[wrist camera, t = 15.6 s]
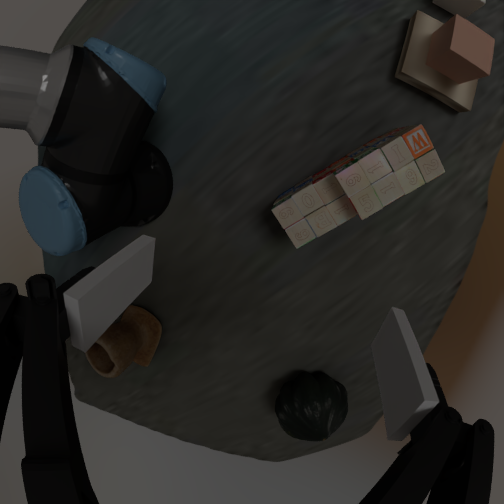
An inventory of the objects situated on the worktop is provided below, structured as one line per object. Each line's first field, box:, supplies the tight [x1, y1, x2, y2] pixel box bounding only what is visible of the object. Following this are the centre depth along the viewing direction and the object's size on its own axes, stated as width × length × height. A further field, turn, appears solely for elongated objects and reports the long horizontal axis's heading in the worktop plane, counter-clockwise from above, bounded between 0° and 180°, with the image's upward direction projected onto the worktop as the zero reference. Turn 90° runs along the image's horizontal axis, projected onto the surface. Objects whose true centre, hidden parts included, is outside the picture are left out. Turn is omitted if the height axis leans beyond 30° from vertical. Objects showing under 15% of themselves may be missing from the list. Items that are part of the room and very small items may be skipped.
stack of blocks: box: [271, 124, 445, 248], centre depth 37 cm, size 21×6×12 cm, turn 125°
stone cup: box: [85, 305, 162, 378], centre depth 55 cm, size 15×12×15 cm
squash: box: [275, 372, 348, 441], centre depth 52 cm, size 14×15×15 cm
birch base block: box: [394, 10, 478, 112], centre depth 30 cm, size 12×12×4 cm
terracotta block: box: [426, 14, 495, 84], centre depth 24 cm, size 6×6×9 cm
